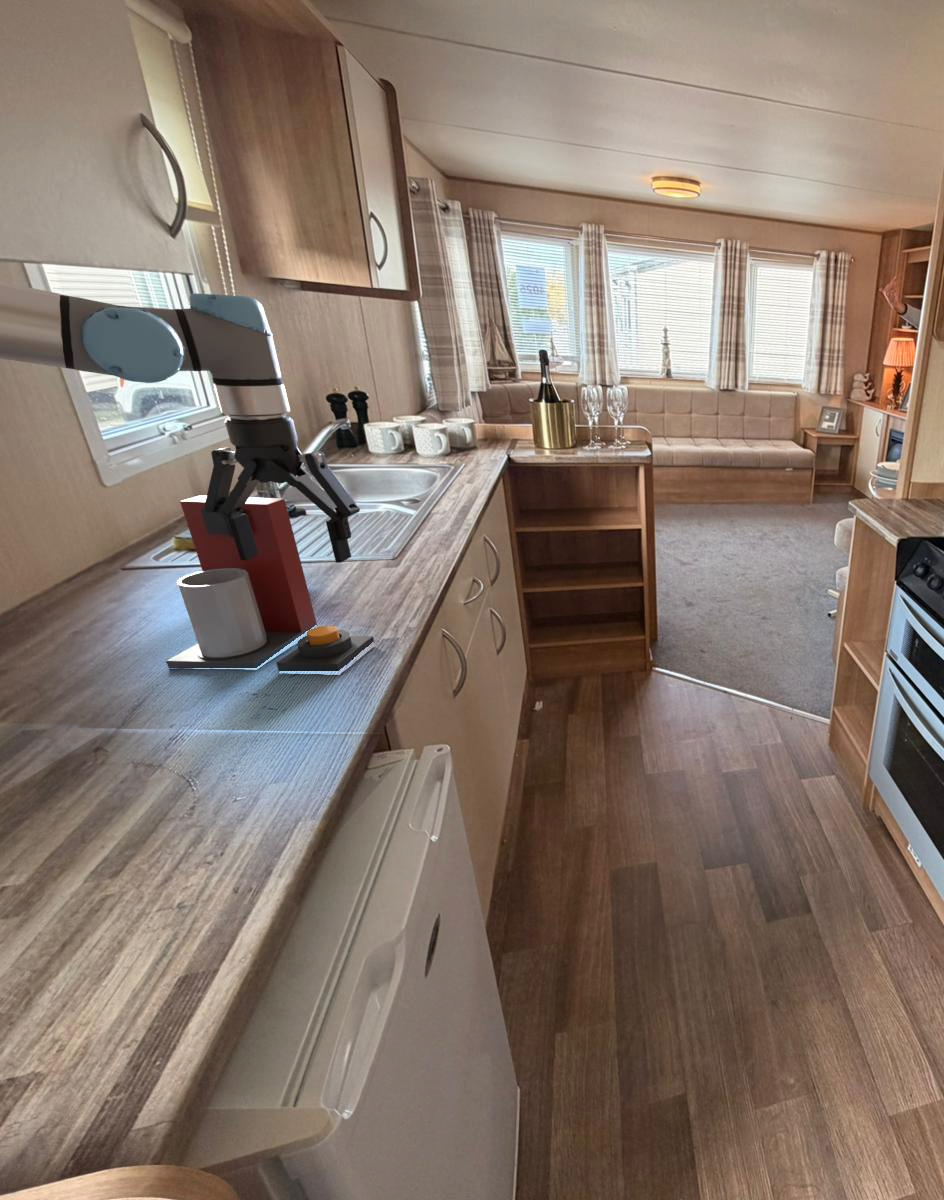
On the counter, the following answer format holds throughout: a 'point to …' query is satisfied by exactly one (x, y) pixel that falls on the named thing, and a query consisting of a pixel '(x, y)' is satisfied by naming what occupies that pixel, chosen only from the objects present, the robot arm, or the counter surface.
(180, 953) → the counter surface
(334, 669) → the control block
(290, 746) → the counter surface
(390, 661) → the counter surface
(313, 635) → the button
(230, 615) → the white tumbler
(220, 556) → the coffee machine
